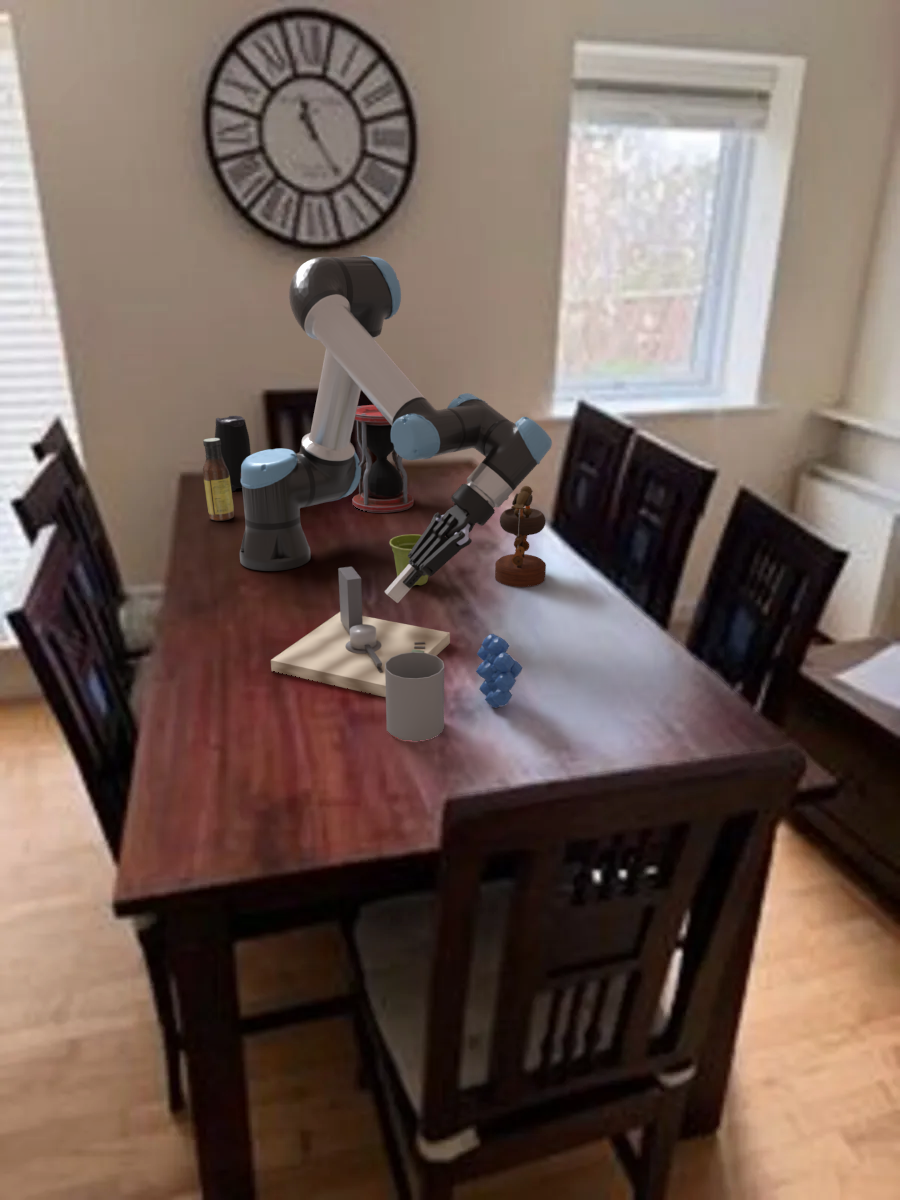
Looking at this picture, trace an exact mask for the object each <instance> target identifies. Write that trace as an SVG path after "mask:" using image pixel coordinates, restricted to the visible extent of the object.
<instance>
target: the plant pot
mask: <svg viewBox="0 0 900 1200" xmlns="http://www.w3.org/2000/svg"><path fill="white" fill-rule="evenodd" d="M421 536H422V534H417V533H416V534H402V535H401V534H400V535H398V536H397V535H396V536H394V537H392V538H391V539H390V540H389V542H388V543H389V546H390V547H391V549H392V550H391V551H392V552H393V557H394V563H395V569H396V570H395V571H396V578H397V577H398V576H399V575H400V573H401V572H402V571H403V570H404V569H405V568H406V567H407V566H408V564H409V560H410V558H409V557H408V554H409V553H410V551H411V550H412V548H413V547H414V546H415V544H416V543H417V541H418V540H419V539H420V537H421ZM428 579H429V576H428V575H425V576H423V575H422V576H421V577H420V579H419V580H418V581H417V582H416V583H415V584H414V585H413V587H414V586H423V585H426V583H427V582H428Z"/></svg>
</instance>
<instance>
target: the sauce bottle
mask: <svg viewBox="0 0 900 1200" xmlns="http://www.w3.org/2000/svg"><path fill="white" fill-rule="evenodd" d="M220 445H221V442H220V439H218V438H215V437H210V438H205V439H203V447H204V450H205V451H204V452H205V462H204V464H203V467H202V472H203V483H204V491H205V498H206V504H207V510H208V511H207V512H208V514H209V515H208V516H209V519H210V520H211V521H216V522H217V521H218V522H221V521H223V522H224V521H228V520H231V519H233V518H234V515H235V514H234V511H235V509H234V500H233V493H232V492H233V491H231V483H230V476H229V471H228V469H227V467H226V464H225V462H224V460H223V457H222V454H221V447H220Z"/></svg>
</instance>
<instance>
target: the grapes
mask: <svg viewBox="0 0 900 1200" xmlns="http://www.w3.org/2000/svg"><path fill="white" fill-rule="evenodd" d="M480 645H481V647H479V649H478V651H477V652H476V655H477V656H478V657H479V659H480V660H482V662H481V663H480V664H479V666H478V667H477V669H476V671H475V672H476V674H477V675H479V677H480V678H482V679H483V682H482V683H481V685H480V687H479V688H478V690H479V691H480V692H481V693H482V695H484V696H486V697H485V698H484V701H485V702H486V703H487V704H488V705H489V706H491V707H492V708H494V709H495V708H497V709H498V708H500V707H505V706H506V705H508V704H509V702H510V700H511V699H512V697H513V694H512V692H511V690H512V688H513V687H514V686H515V684H516V682H517V680H516V678H518V676H519V675H520V674H521V672H522V670H523V666H522V665H521V664H520V663H519V661H517V660H515V659H514V658H513V657H512V655H510V654H508V653H507V651H508V650H509V648H510V644H509V642H508V641H506V639H504V638H502V637H500V636H499V635H497V634H495V633H489V634H488V635H487V636H485V637H484V639H483V641H482V643H481V644H480Z"/></svg>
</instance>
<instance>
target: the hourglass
mask: <svg viewBox="0 0 900 1200" xmlns="http://www.w3.org/2000/svg"><path fill="white" fill-rule="evenodd" d="M354 421H356V431H357V432H356V433H357V435H356V436H357V442H358V443H357V444H358V446H359V448H360V450H361V454H362V458H361V462H360V463H359V464H358V465H359V466H360V467H361V476H360V481H359V484H358V492H359V493H358V494H356V495H354V496H353V498H352V499H351V500H352V501H351V502H352V506H353V505H354V506H355V507H356V508H358V509H360V510H359V511H361V510H363V511H362V512H365V511H367V512H368V513H374V514H375V513H376V514H377V513H378V514H387V513H397V512H402V511H405V510H408V509H410V508H412V507H413V506H414V504H415V502H414V499H415V498H414V497H413V495H411V494H410V493H408V474H407V471H406V470H405V468H404V464H403V458H402V457H400V456H399V455H398V454H397V453H396V451H395V450H394V444H393V443H392V442H391V428H392V425H391V424H390V423H389V422H388V421H387V420H386V418H385V417H384V416H383V415H382V414H381V412H380V411H379V410H378V409H377V408H376V407H375V405H374V404H369V405H368V404H367V405H357V410H356V415H355V419H354ZM368 449H369V450H368ZM369 451H370V452H372V454H374V456H375V457H376V460H375V461H374V462H373V461H372V460H373V459H372V457H371V454H370V453H369ZM390 454H391V458H392V461H393V463H394V465H395V466H394V465H393V464H392V463H391V462H390V461H389V460H388V456H389V455H390ZM365 464H366V465H365ZM364 467H365V470H364ZM355 507H354V508H355ZM356 508H355V509H356ZM358 509H357V510H358ZM367 512H366V513H367Z"/></svg>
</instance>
